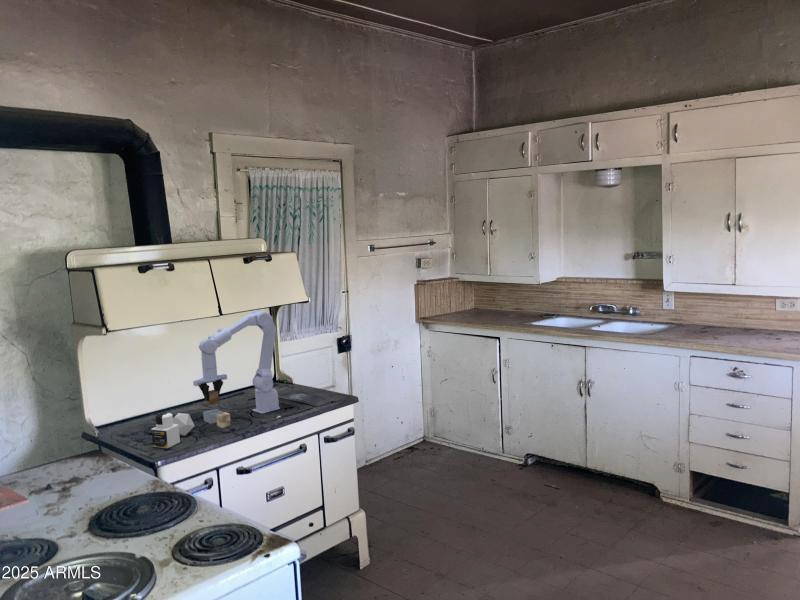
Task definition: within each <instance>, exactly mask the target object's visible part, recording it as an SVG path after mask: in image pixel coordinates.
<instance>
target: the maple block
mask: <svg viewBox="0 0 800 600" xmlns="http://www.w3.org/2000/svg"><path fill="white" fill-rule="evenodd" d="M222 412H223V413H220V414H216V420H217V422H216V427H218V428H221V429H223V428H227V427H231V426H232V425H231V424H232V423H231V414H230V413H229V412H225V411H222Z"/></svg>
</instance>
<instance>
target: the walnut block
mask: <svg viewBox="0 0 800 600" xmlns="http://www.w3.org/2000/svg"><path fill="white" fill-rule="evenodd" d="M204 402H205V404H206V405H209V406H213V405H216V404H220V395H219V396H218V391H215V390H214V389H211V390H209V401H206V400H205V399H204Z"/></svg>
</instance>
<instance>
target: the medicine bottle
mask: <svg viewBox="0 0 800 600" xmlns="http://www.w3.org/2000/svg"><path fill="white" fill-rule="evenodd" d="M173 416H174V415H173V414H172V413H171V412H161V413H158V414H156V415H155V427H153V428H151V443H152V447H153V448H162V449H169V448H172V447H174V446H175V445H177V444H179V443H181V438H180V436H181V435H179V425H178V424H173V418H174V417H173Z"/></svg>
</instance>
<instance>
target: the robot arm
mask: <svg viewBox="0 0 800 600" xmlns="http://www.w3.org/2000/svg"><path fill="white" fill-rule="evenodd" d="M248 326H249V327H255V326H256V327H258V328H259V329H260V330H261V332H263V336H262V341H261V349H260V354H259V355H260V356H259V363H258V368H257V369H256V370H255V374H254V376H253V378H252V385H253V387H255V389H254V395H255V398H254V399H255V407H256V408H252V411H253V412H254V413H255V412H256V413H259V414H266V413H269V412H274V411H277V410H280V408H281V407H280V405H279V404H280V403H279V394H278V391H277V389H276V388H274V381H273V373H272V370H271V369H272V365H273V364H272V363H273V355H274V347H275V343H276V334H277V327H276V325H275V323H274V318H273V316H272V315H271V314H270V313H269V312H267V311H263V310H260V309H255V310H252V312H249V313H247V314H246V315H245V316H244V317H242V318H241V319H239V320H238V321H236V322H235V323H234V324H233V325H230V326H229V327H228V328H225V327H224V328H219V329H217V331H216V332H215V333H213V334H211V335H208V336H207V337H208V338H204V339H202V340H201V341H200V342H199V345H198V349H199V350H200V351H201V367H202V378H199V379H196V380H193V381H192V383H193V386H194V387H198V388H199V390H200V392H202V395H203V397H204V398H203V399H204V401H205V400H206V401H209V391H210V385H208V384H210V383H212V386H213V387H212V388H213V390H215V391H218V396H219V397H220V394H221V393H220V392H221V390H222V387H223V386H224V381H225V380H228V374H225V373H223V374H218V367H217V357H216V352H217V349H218V348H220V347H221V346H223V345H224V344H226V343H228V342H229V341H230V340H232V337H233V335H235V334H236V333H238V332H240V331H242V330H243V329H245V328H247V327H248Z"/></svg>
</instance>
